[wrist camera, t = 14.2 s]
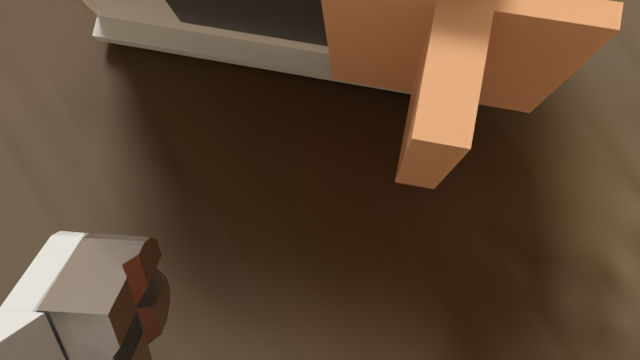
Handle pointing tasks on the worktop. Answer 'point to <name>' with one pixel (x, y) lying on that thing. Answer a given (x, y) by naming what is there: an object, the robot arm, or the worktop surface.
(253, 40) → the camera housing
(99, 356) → the robot arm
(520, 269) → the worktop surface
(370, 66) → the side door
